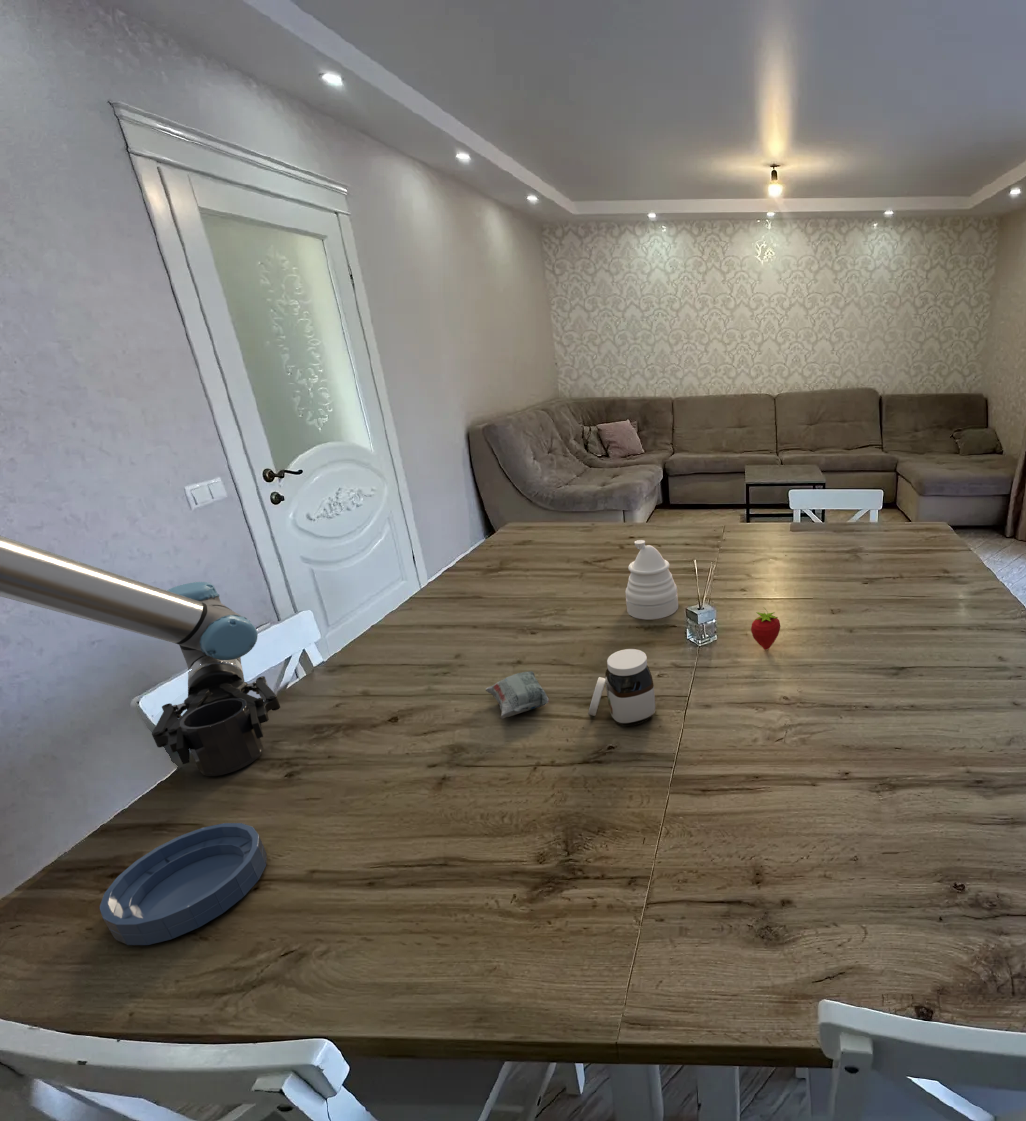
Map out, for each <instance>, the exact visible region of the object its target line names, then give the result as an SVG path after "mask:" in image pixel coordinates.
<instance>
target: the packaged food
mask: <svg viewBox="0 0 1026 1121" xmlns="http://www.w3.org/2000/svg"><path fill="white" fill-rule="evenodd" d="M485 691H486V692H487V693H488V694H490V695H491V696H493V697H494V699H495V700H496V702H497V704H498V705H499V709H500V711H501V715H500V719H502V720H503V719H505V718H509V717H510V718H511V717H513V716H516V715H520V714H522V713H525V712H528V711H530V710H534V709H536V708H537V709H538V708H541V707H543V706H546V705H547V704H548V703H550V699H549V697H548V694H547V693H546V691H545V690H544V688H543V687H542V685H541V684H540V683H539V681H538V679H537V678H536V676H535V672H534V671H532V670H531V671H530V670H529V671H523V672H517V673H514V674H512V675H509V676H506V677H505V678H503V679H501V680H499V681H497V682H495V683H494V684H493V685H490V686H488V687H486V688H485Z"/></svg>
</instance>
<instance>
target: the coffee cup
mask: <svg viewBox="0 0 1026 1121" xmlns="http://www.w3.org/2000/svg"><path fill="white" fill-rule="evenodd" d="M180 727H181V730H182V732H183V734H184V736H185V739H186V741H187V743H188V746H189V748H190V753H191V754H192V758H193V760H194V763H195V765H196V766H197V769H198V771H199V772H200V774H202V775H204V776H207V777H218V776H219V777H220V776H224V775H227V774H231V773H234V772H237V771H239V770H241V769H243V768H245V767H247V766H249V765H250V764H252V763H254V762H255V761H256V760H257V759H258V758H260V756H262V754H263V753H264V746H263V742H262V740H261V738H258V739H257V737H256V734H255V732H254V729H253V726H252V722H251V716H250V711H249V708H248V705H247V703H246V700H243V699H240V698H229V699H223V700H218V701H215V702H212V703H209V704H205V705H203V706H201V707H199V708H197V709H194V710H193V711H191V712H190V713H188V714H187V715H185V716H184V717H183V718H182V720H181V721H180Z"/></svg>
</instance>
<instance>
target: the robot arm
mask: <svg viewBox="0 0 1026 1121" xmlns="http://www.w3.org/2000/svg"><path fill="white" fill-rule="evenodd" d="M0 598H5V599H8V600H12V601H16V602H20V603H23V604H28V605H31V606H35V607H38V608H42V609H45V610H49V611H52V612H57V613H61V614H64V615H68V616H72V617H76V618H79V619H82V620H83V619H84V620H87V621H91V622H95V623H98V624H102V625H106V626H109V627H113V628H117V629H120V630H125V631H128V632H130V633H131V632H132V633H134V634H135V633H136V634H139V635H143V636H147V637H151V638H154V639H158V640H162V641H165V642H170V643H173V644H176V645H178V646H179V648H180V651H181V653H182V656H183V658H184V660H185V663H186V666H187V697H186V698H185V699H184V701H183V702H181V703H178V704H172V703H166V704H164V705H162V706H161V709H162V711H163V712H162V714H161V715H160V717H159V719H158V721H157V723H156V725H155V726H154V728H153V730H152V732H151V736H152V738H153V740H154V743H155V745H156V747H157V748H164V747H166V746H167V745H168V747H169V750H170V753H175V752H177V755H178V757H179V758H180V761H181V763H182V765H184V764H188V763H190V761H191V760H190V759H191V758H190V755H191V754H190V753H191V750H190V748H189V746H188V743H187V741H186V739H185V736H184V734H183V732H182V730H181V727H180V721H181V720H182V718H183V717H184V716H185V715H187V714H188V713H190V712H191V711H193V710H194V709H197V708H199V707H201V706H203V705H205V704H209V703H212V702H215V701H218V700H223V699H229V698H240V699H243V700H246V703H247V705H248V708H249V711H250V716H251V722H252V726H253V729H254V732H255V734H256V737H257V739H258V738H260V739H261V738H263V737H264V735H263V728H262V724H263V723H268V721H269V720H270V719H269V714H268V713H269V712H270V711H273V712H274V711H279V709H281V704H280V702H279V699H278V696H277V694H276V693H275V692H274V691H273V690H272V689H271V687H270V686H269V684H268V682H267V679H266V676H259V677H257V678H256V680H255V681H253V682H251V683H250V682H249V683H248V682H246V681H245V677H244V670H243V665H242V657H244V656H246V655H247V654H248V653H250V652H251V651H252V650H253V648H254V647H255V646H256V644H257V641H258V637H259V636H258V630H257V628H256V626H255V625H254V624H253V623H252V621H250V620H249V619H248V617H245V616H243V615H240V614H239V613H237V612H235V611H234V610H232V609H231V608H229V607H228V606H226V605H225V604H223V603H222V601H221V599H220V594H219V593H218V592H217V589H216V587H215V585H214V584H213V583H211V582H207V581H195V582H188V583H183V584H180V585H177V586H173V587H171V588H168V589H163V588H160V587H158V586H154V585H151V584H148V583H145V582H142V581H139V580H136V579H134V578H133V579H132V578H131V577H127V576H124V575H121V574H118V573H115V572H112V571H109V570H105V569H102V568H100V567H98V566H94V565H91V564H87V563H85V562H82V561H78V560H76V559H73V558H69V557H66V556H63V555H60V554H57V553H55V552H51V551H48V550H45V549H43V548H40V547H36V546H34V545H30V544H28V543H24V542H22V541H19V540H18V541H17V540H15V539H12V538H9V537H6V536H3V535H0ZM200 664H201V665H200ZM189 669H192V670H191V671H189V672H188V670H189ZM251 691H252V692H253V693H255V694H256V695H259V697H258V698H257V697H256V696H253V695H250V694H249V693H250V692H251Z"/></svg>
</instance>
